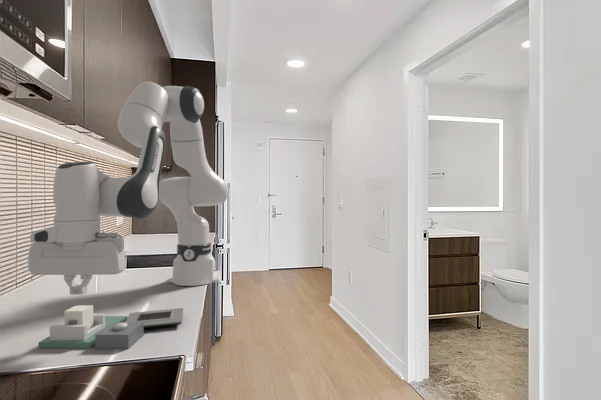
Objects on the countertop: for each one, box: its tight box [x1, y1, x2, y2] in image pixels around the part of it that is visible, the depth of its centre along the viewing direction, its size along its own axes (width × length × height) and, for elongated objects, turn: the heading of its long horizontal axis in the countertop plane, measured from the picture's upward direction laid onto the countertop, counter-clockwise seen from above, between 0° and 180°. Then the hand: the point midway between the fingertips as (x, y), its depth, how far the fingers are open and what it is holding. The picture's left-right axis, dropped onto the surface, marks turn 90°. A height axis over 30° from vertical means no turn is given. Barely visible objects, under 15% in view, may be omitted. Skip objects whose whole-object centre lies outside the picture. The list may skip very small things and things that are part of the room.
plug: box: [64, 304, 94, 331], centre depth 80 cm, size 5×4×5 cm
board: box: [37, 313, 128, 349], centre depth 83 cm, size 16×11×4 cm
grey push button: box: [95, 322, 145, 350], centre depth 78 cm, size 7×7×4 cm
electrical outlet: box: [125, 307, 184, 329], centre depth 89 cm, size 13×10×2 cm
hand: (78, 293), depth 80 cm, fingers closed
